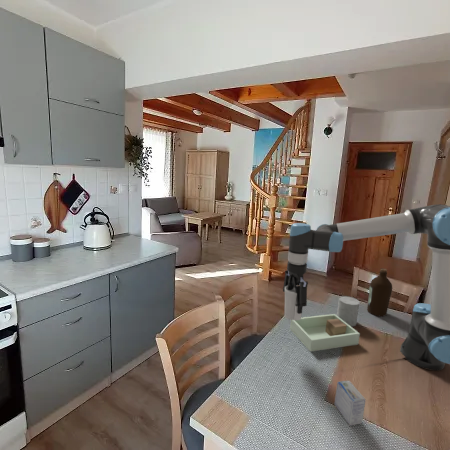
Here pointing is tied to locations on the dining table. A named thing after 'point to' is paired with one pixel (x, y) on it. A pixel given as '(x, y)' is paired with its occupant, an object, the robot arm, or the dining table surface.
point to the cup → (290, 303)
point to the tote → (322, 333)
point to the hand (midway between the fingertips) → (292, 314)
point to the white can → (348, 309)
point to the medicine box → (349, 402)
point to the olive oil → (379, 294)
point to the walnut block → (335, 327)
